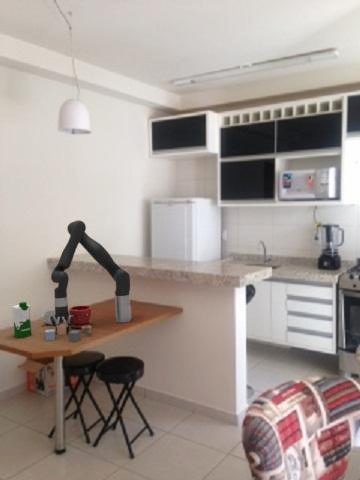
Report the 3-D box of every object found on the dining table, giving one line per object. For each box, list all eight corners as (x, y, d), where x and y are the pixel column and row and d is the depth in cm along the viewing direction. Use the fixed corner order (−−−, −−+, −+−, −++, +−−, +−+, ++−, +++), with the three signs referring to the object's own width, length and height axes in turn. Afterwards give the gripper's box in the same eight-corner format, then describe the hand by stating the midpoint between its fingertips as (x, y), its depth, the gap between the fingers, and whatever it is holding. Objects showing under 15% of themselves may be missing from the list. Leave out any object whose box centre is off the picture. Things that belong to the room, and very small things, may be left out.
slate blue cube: (55, 337, 247) (54, 328, 246) (55, 339, 242) (54, 331, 242) (46, 338, 245) (45, 329, 245) (46, 341, 240) (45, 332, 240)
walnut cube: (91, 333, 251) (91, 325, 251) (91, 336, 247) (90, 327, 246) (83, 334, 251) (82, 325, 250) (82, 336, 246) (81, 328, 245)
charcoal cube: (81, 339, 242) (80, 330, 241) (76, 342, 237) (76, 333, 236) (73, 338, 243) (73, 330, 243) (68, 341, 238) (68, 332, 238)
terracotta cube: (68, 332, 256) (68, 324, 255) (65, 334, 251) (65, 326, 250) (60, 332, 256) (59, 324, 256) (57, 334, 251) (57, 326, 251)
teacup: (58, 320, 282) (57, 308, 282) (65, 323, 274) (64, 311, 273) (37, 324, 274) (36, 312, 273) (43, 328, 265) (43, 315, 265)
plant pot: (80, 330, 258) (79, 311, 257) (65, 327, 265) (64, 308, 264) (96, 324, 269) (95, 306, 268) (81, 322, 276) (80, 304, 275)
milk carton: (20, 339, 245) (17, 305, 243) (12, 336, 251) (9, 302, 249) (33, 335, 252) (31, 301, 250) (25, 332, 258) (23, 299, 256)
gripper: (75, 302, 255) (76, 330, 257) (51, 303, 256) (53, 331, 257) (71, 306, 248) (73, 334, 249) (47, 306, 248) (48, 335, 250)
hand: (62, 332), depth 253 cm, fingers closed on terracotta cube, 5 cm apart
